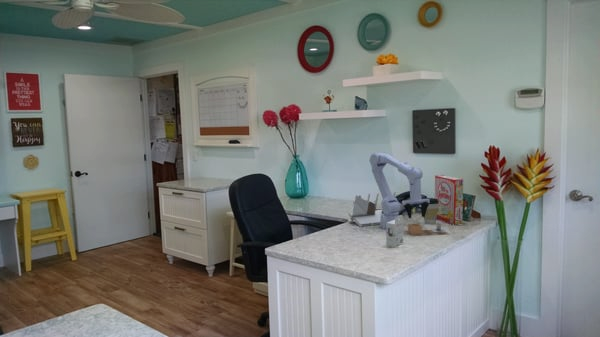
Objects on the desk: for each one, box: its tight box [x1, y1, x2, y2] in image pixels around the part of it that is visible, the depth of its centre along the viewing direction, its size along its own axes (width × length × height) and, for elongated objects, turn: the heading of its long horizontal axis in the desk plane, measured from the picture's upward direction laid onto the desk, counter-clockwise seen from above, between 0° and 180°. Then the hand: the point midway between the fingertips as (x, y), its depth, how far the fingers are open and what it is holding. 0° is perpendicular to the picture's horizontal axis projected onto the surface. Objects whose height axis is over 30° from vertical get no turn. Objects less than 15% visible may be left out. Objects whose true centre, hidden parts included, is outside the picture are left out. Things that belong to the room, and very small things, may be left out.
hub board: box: [404, 223, 451, 237], centre depth 238 cm, size 21×12×6 cm, turn 97°
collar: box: [407, 223, 423, 235], centre depth 237 cm, size 6×6×4 cm
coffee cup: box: [423, 197, 439, 225], centre depth 261 cm, size 10×10×15 cm
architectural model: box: [348, 191, 400, 228], centre depth 270 cm, size 20×29×21 cm
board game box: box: [434, 174, 464, 226], centre depth 268 cm, size 20×6×27 cm, turn 16°
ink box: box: [385, 214, 404, 248], centre depth 218 cm, size 9×5×15 cm, turn 141°
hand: (416, 217), depth 237 cm, fingers open, 7 cm apart
